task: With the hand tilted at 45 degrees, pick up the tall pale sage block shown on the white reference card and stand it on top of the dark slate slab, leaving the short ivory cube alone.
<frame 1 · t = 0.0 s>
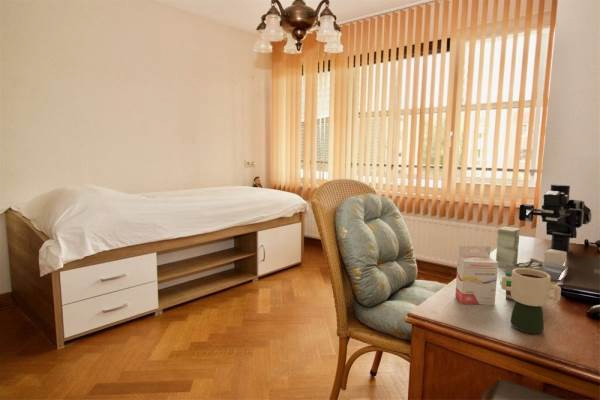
hand: (541, 218, 117), 17 cm above the table, tool horizontal, fingers open, 9 cm apart
reference card: (524, 282, 103), on the table
character mug: (526, 329, 77), on the table
ivory cube: (554, 265, 119), on the table
food container: (527, 301, 91), on the table
ink cartridge box: (474, 301, 91), on the table
sage block: (506, 265, 120), on the table
slate slab: (546, 275, 110), on the table
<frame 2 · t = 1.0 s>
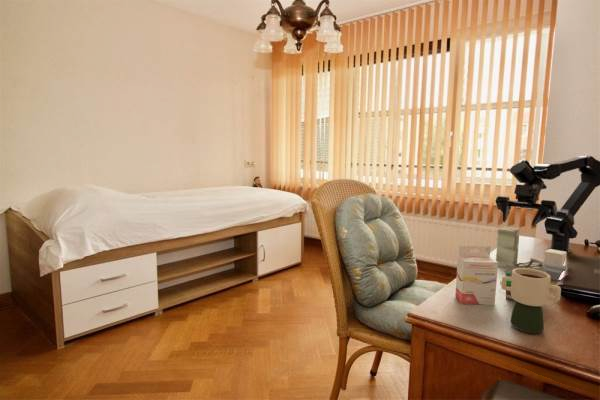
hand: (517, 223, 122), 14 cm above the table, tool tilted 45°, fingers open, 9 cm apart
nothing on the table moved.
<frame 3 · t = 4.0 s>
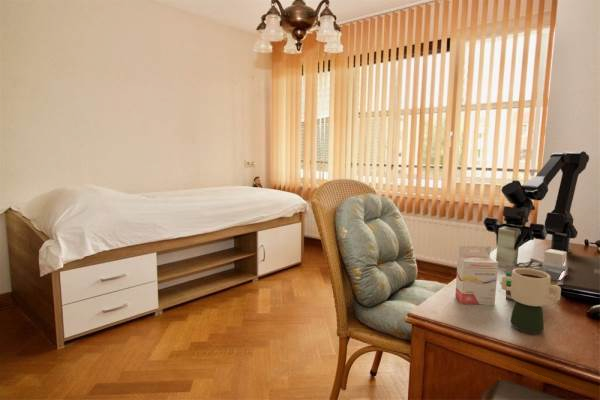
hand: (505, 247, 118), 7 cm above the table, tool tilted 45°, fingers closed on sage block, 5 cm apart
sage block: (506, 264, 120), on the table, touching gripper
everything else where it was.
when the fingers open (11 cm above the table, at t = 8.7 s): sage block drops 2 cm, resting on slate slab.
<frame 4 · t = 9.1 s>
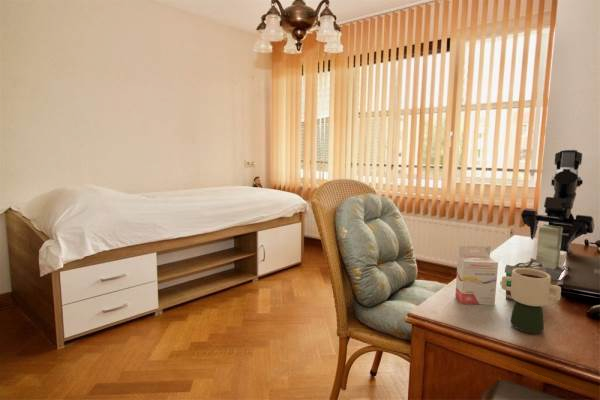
hand: (548, 241, 108), 11 cm above the table, tool tilted 45°, fingers open, 9 cm apart
sage block: (547, 265, 111), point 3 cm above the table, touching slate slab
slate slab: (546, 275, 110), on the table, touching sage block
everything else where it was.
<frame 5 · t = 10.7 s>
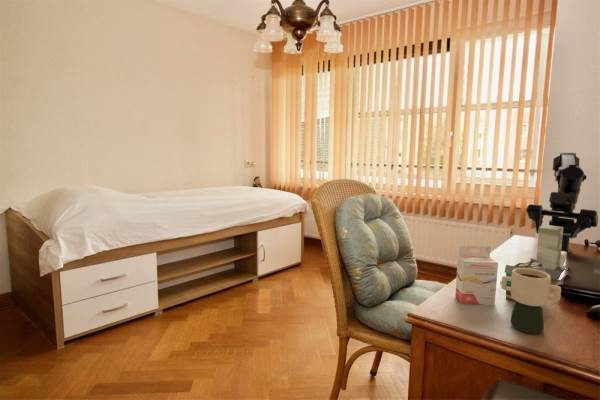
hand: (553, 235, 111), 12 cm above the table, tool tilted 45°, fingers open, 9 cm apart
nothing on the table moved.
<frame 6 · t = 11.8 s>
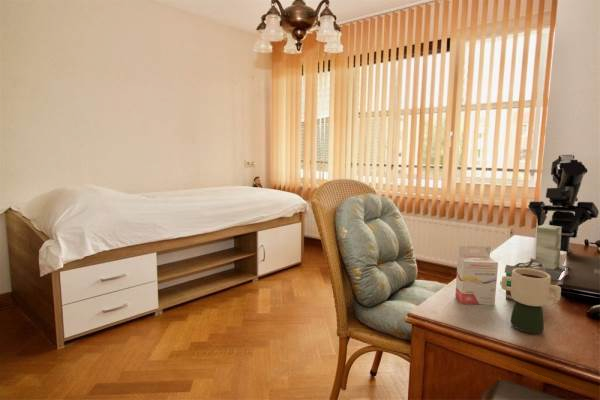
hand: (554, 229, 115), 13 cm above the table, tool tilted 40°, fingers open, 9 cm apart
nothing on the table moved.
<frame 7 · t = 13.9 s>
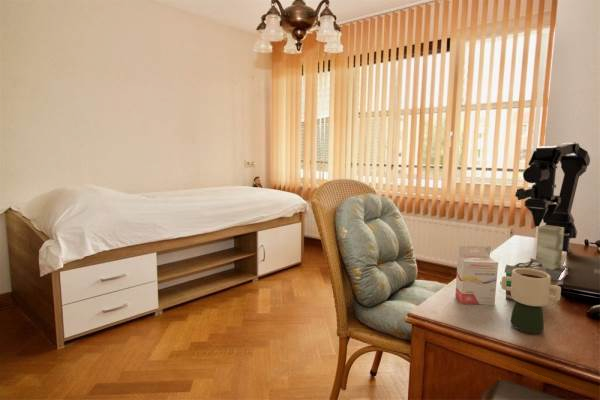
hand: (541, 224, 124), 13 cm above the table, tool pointing down, fingers open, 9 cm apart
sage block: (547, 266, 110), point 3 cm above the table
slate slab: (546, 275, 110), on the table
everything else where it was.
at the end: sage block 0.3 cm off-centre on the slate slab, point 3.1 cm above the slate slab's base; sage block tilted 2°; the gripper is holding nothing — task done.
